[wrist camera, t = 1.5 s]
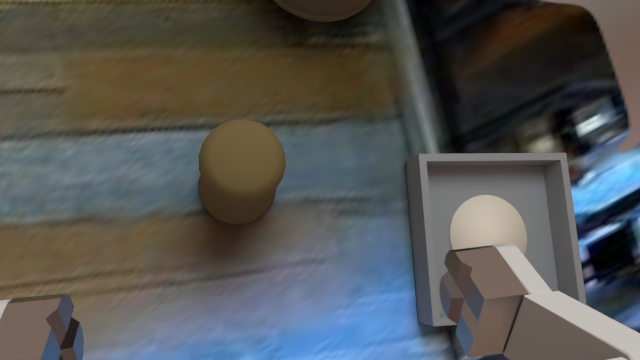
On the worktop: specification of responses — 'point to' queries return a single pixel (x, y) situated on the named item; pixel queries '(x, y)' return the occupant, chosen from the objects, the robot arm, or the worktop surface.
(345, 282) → the worktop surface
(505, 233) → the resting spot
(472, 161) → the tray
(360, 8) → the can
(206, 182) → the cork
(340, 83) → the worktop surface
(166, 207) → the worktop surface
